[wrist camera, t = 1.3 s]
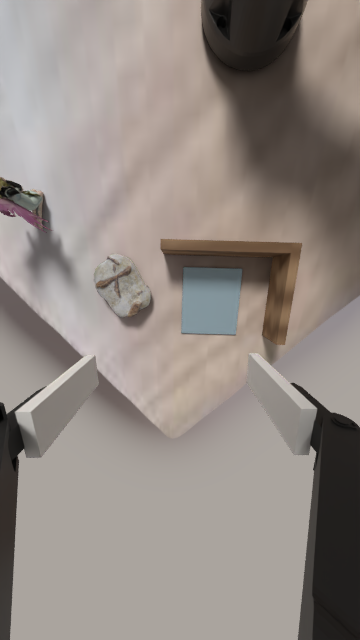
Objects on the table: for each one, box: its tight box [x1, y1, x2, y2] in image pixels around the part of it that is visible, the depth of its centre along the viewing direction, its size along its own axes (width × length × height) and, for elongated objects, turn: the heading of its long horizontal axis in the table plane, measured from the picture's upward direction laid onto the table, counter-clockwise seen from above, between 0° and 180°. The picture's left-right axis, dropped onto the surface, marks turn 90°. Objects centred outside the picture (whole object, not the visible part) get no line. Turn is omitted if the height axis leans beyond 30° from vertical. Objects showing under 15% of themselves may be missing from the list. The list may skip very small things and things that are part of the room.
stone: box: [94, 254, 151, 317], centre depth 35 cm, size 12×9×3 cm
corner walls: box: [161, 239, 302, 345], centre depth 34 cm, size 18×24×6 cm
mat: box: [181, 267, 242, 335], centre depth 37 cm, size 14×12×1 cm
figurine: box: [0, 177, 52, 233], centre depth 27 cm, size 14×8×15 cm, turn 81°
